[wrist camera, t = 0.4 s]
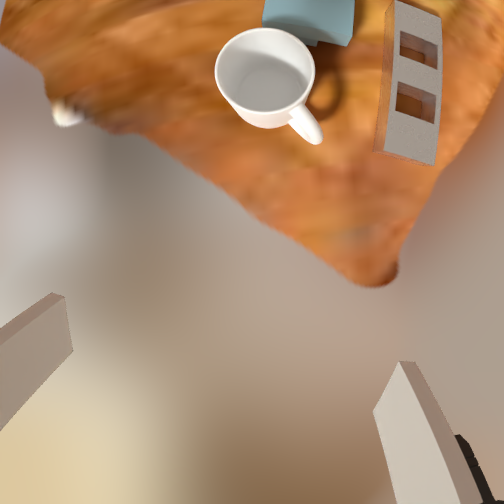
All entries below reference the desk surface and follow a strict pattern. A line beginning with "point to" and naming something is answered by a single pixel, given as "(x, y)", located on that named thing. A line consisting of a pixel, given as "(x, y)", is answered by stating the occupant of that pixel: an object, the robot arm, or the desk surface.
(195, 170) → the desk surface
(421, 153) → the grey block with holes
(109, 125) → the desk surface
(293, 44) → the mug
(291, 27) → the pale blue memo pad
